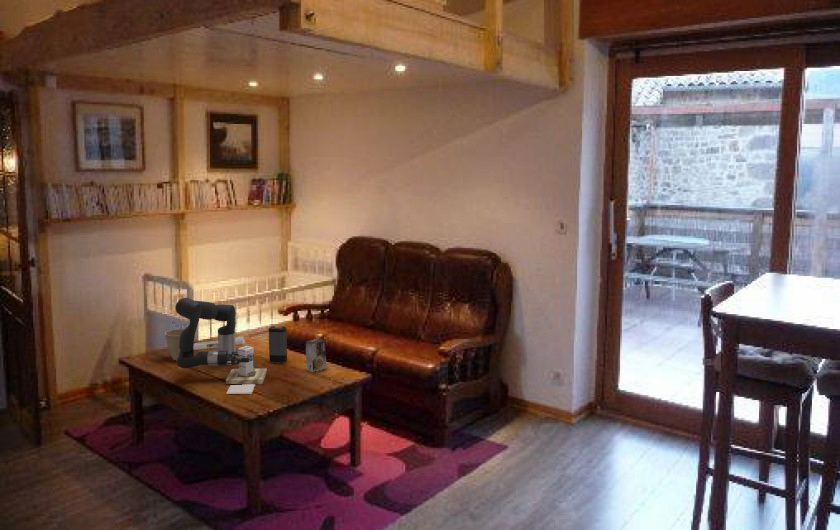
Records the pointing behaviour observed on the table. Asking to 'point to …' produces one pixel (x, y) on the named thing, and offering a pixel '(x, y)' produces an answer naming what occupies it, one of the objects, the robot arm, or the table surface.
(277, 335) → the electronic device
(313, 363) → the coffee box
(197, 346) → the newspaper
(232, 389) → the ceramic tile
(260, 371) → the cream square board
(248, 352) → the syrup box
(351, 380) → the table surface
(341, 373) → the table surface
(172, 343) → the plant pot
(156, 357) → the table surface
